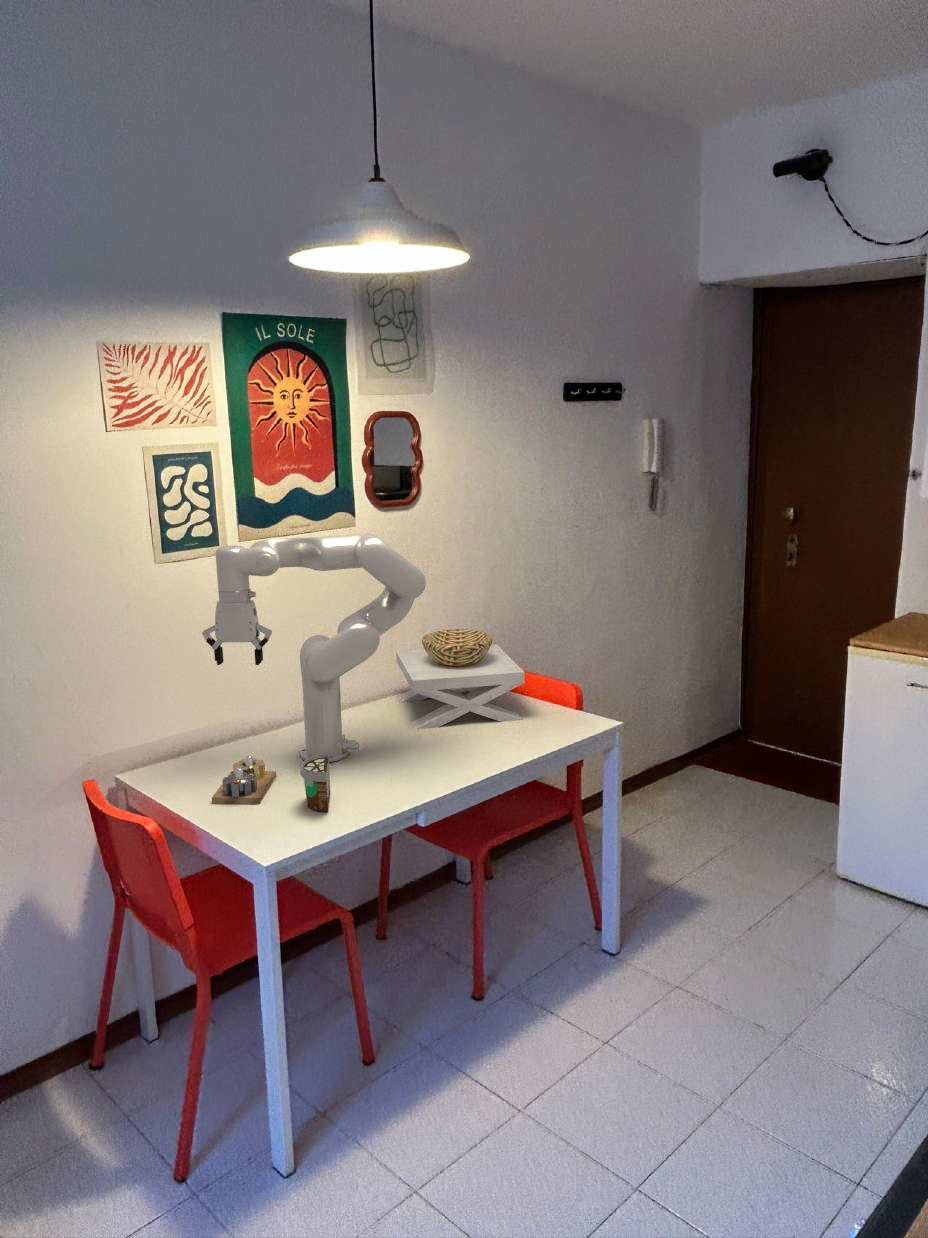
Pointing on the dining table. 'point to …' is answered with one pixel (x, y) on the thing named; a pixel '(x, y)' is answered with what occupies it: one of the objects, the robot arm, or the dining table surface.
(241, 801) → the gear board
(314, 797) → the food container
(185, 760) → the dining table surface
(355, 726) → the dining table surface
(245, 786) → the gear
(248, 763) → the peg
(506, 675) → the stand with wicker basket
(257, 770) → the wooden gear
